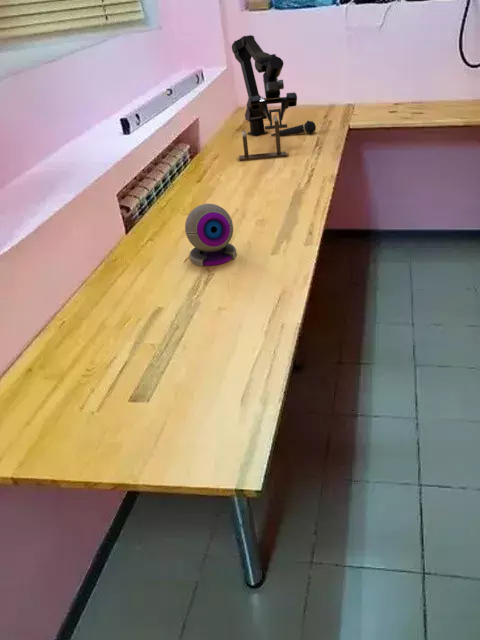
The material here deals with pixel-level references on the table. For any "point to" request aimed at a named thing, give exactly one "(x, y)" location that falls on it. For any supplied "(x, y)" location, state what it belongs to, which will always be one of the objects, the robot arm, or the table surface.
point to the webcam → (210, 235)
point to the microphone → (299, 129)
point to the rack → (264, 155)
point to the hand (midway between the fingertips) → (275, 120)
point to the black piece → (279, 120)
